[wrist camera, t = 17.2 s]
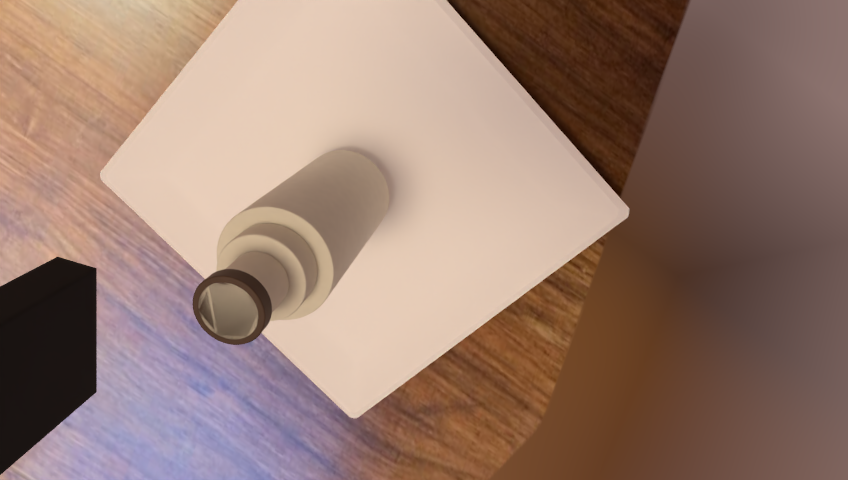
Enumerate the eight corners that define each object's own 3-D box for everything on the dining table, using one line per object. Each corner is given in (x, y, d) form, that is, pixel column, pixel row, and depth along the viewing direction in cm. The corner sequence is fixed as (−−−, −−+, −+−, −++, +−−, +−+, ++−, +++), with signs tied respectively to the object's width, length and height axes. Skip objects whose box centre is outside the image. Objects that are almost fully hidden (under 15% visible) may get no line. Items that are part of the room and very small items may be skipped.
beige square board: (346, -118, 36) (336, -125, 34) (629, 204, 40) (633, 214, 38) (113, 169, 45) (94, 176, 43) (359, 406, 49) (352, 422, 47)
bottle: (397, 163, 39) (307, 267, 24) (380, 246, 42) (287, 390, 26) (309, 139, 40) (164, 226, 24) (296, 223, 42) (157, 351, 27)
